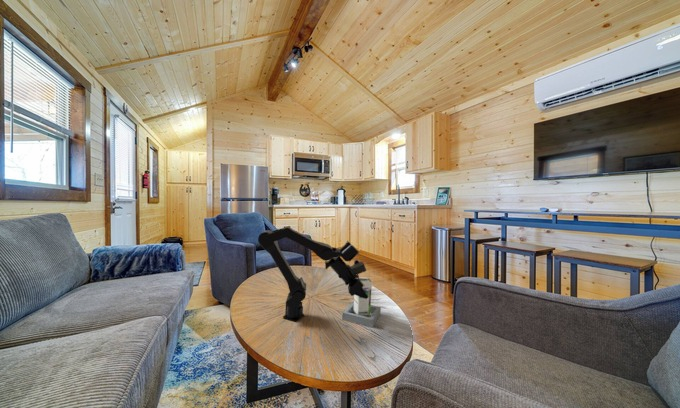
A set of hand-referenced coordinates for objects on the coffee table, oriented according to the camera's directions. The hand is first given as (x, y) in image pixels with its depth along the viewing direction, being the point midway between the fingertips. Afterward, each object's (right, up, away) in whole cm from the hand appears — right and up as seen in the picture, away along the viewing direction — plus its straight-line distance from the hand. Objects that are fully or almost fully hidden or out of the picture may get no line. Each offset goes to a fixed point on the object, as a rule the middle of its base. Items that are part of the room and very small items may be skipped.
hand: (365, 294), depth 105 cm
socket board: (-2, -9, 0) cm, 10 cm away
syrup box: (-2, -8, 0) cm, 8 cm away
